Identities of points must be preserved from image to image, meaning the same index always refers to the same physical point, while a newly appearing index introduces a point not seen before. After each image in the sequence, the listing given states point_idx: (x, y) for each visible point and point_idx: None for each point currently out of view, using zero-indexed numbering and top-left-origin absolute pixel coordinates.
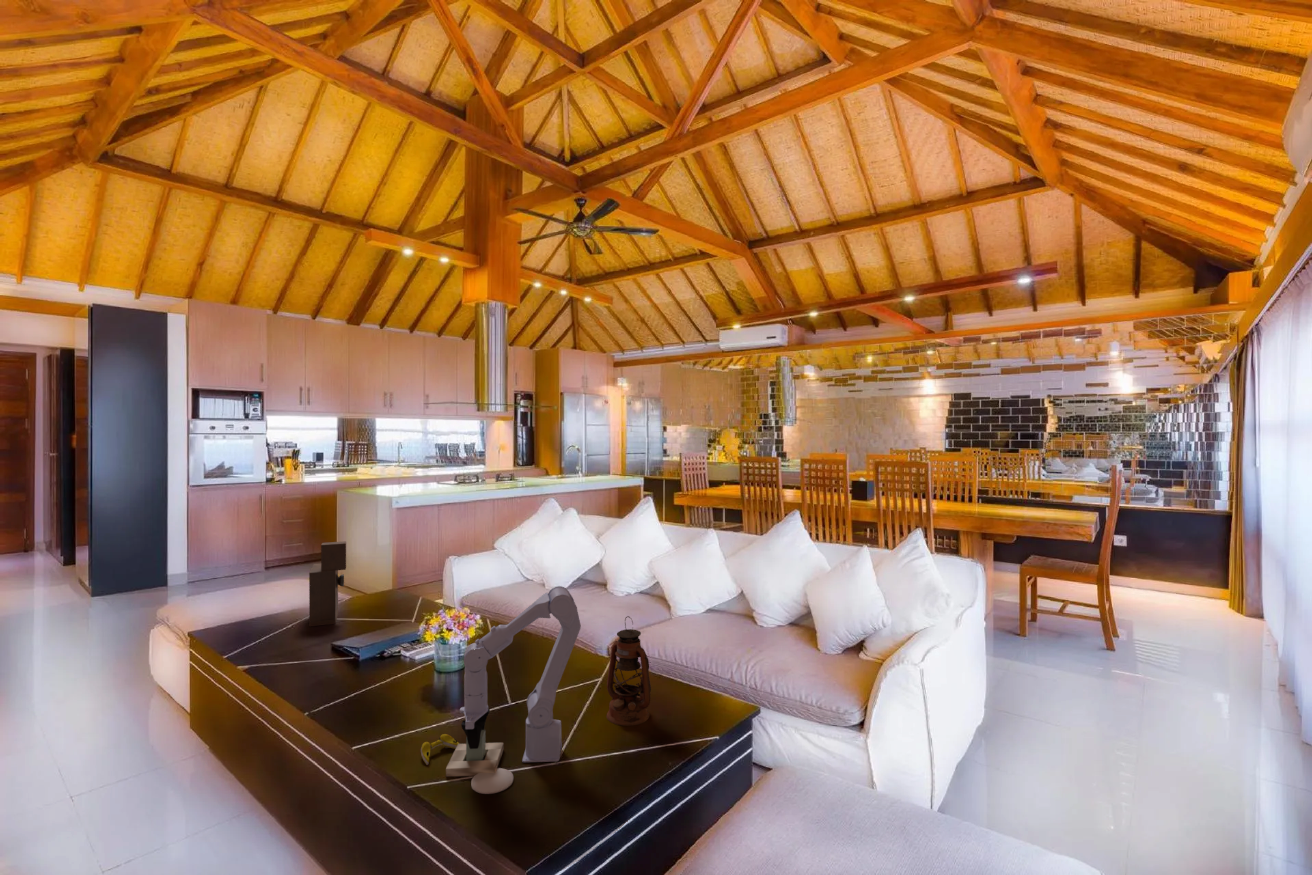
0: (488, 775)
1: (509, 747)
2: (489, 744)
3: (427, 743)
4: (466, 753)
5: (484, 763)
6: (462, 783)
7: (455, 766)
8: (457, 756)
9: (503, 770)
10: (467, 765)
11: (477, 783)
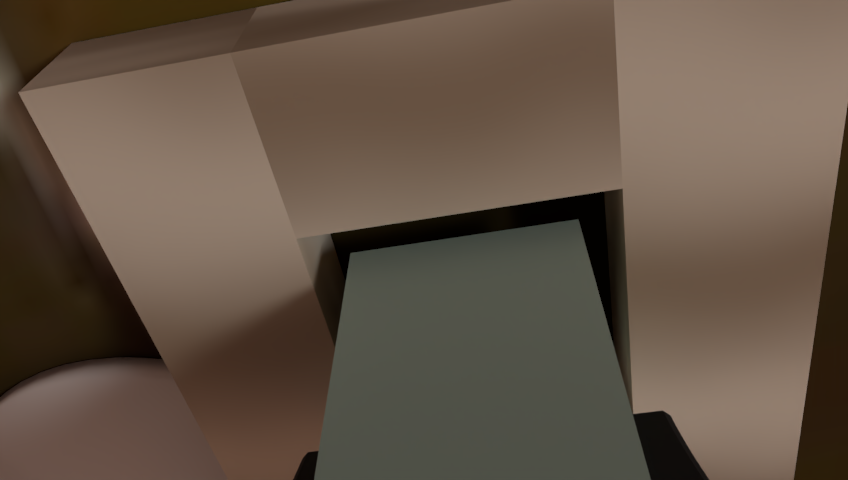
0: (216, 471)
1: (803, 457)
2: (764, 389)
3: None
4: (341, 326)
5: None
6: (33, 286)
7: (131, 201)
8: (408, 114)
9: None
10: (210, 328)
11: (52, 436)
